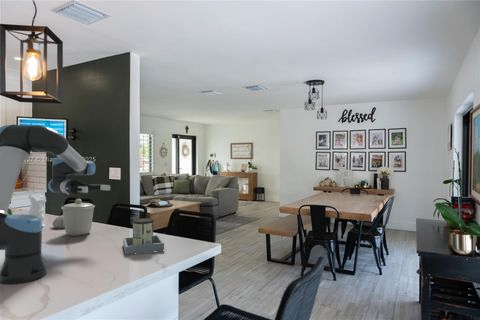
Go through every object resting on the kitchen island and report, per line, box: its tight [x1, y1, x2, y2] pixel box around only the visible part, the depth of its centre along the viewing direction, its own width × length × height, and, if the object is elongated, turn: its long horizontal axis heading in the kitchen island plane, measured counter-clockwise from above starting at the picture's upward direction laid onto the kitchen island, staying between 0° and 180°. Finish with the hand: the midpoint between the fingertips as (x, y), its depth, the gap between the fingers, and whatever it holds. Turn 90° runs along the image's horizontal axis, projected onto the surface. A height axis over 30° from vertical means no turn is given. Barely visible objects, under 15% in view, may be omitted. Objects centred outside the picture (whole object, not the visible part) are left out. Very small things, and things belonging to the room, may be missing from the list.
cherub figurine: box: [28, 194, 47, 228], centre depth 212 cm, size 12×12×22 cm
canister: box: [61, 198, 96, 237], centre depth 194 cm, size 18×18×21 cm
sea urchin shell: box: [52, 214, 65, 229], centre depth 213 cm, size 13×14×8 cm
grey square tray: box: [122, 234, 165, 256], centre depth 164 cm, size 18×18×4 cm
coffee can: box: [132, 217, 154, 246], centre depth 164 cm, size 10×10×14 cm
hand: (98, 188), depth 165 cm, fingers open, 13 cm apart
